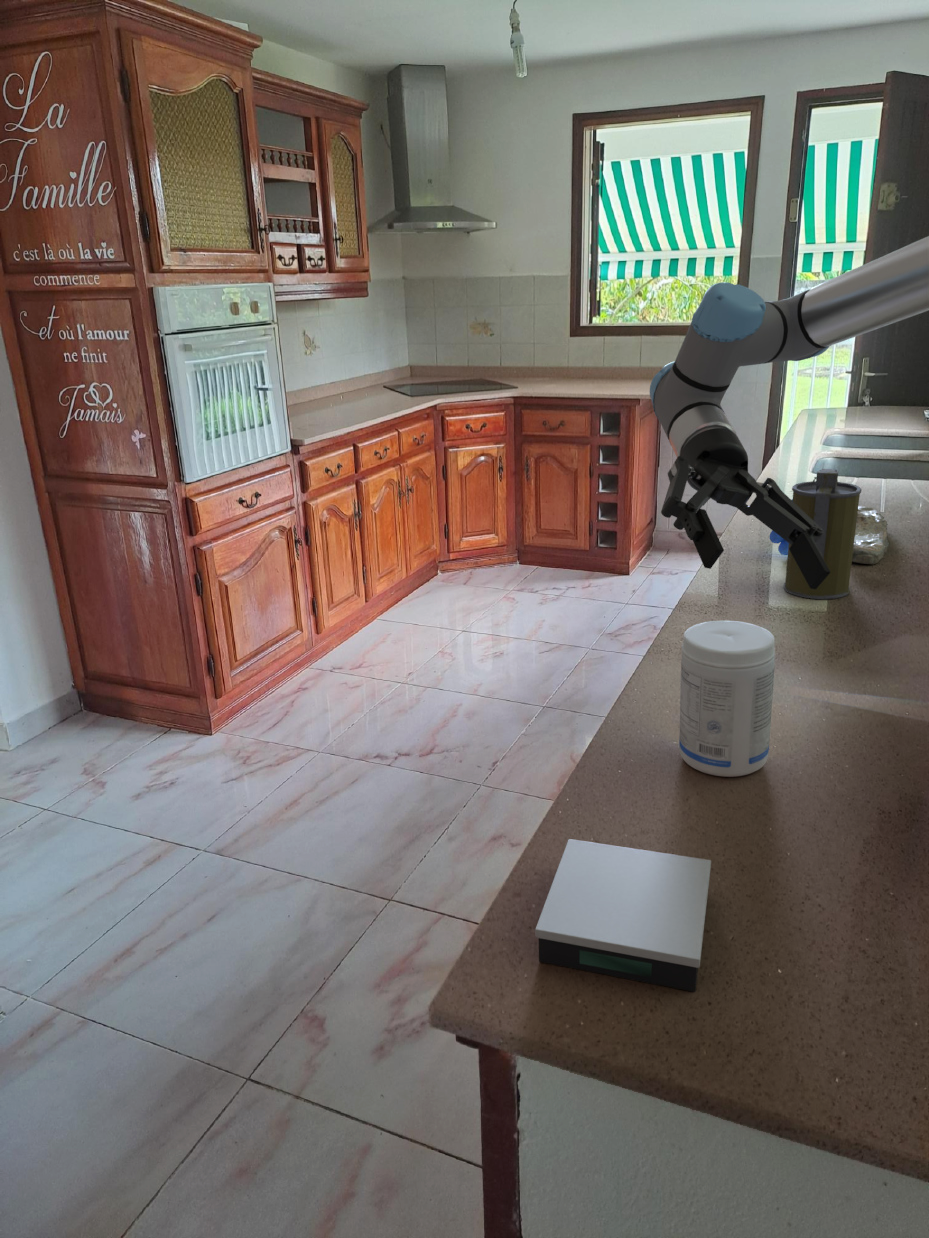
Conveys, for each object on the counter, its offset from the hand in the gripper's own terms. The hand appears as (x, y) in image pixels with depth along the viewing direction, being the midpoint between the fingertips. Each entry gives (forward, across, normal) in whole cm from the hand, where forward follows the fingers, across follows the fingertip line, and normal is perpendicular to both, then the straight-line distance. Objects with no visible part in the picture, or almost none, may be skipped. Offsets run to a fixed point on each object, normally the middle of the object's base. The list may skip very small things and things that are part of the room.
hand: (768, 570), depth 93 cm
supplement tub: (+12, -1, -18) cm, 22 cm away
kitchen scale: (+34, +20, -13) cm, 41 cm away
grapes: (-51, -51, -34) cm, 79 cm away
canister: (-34, -42, -28) cm, 61 cm away
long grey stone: (-57, -67, -31) cm, 93 cm away
